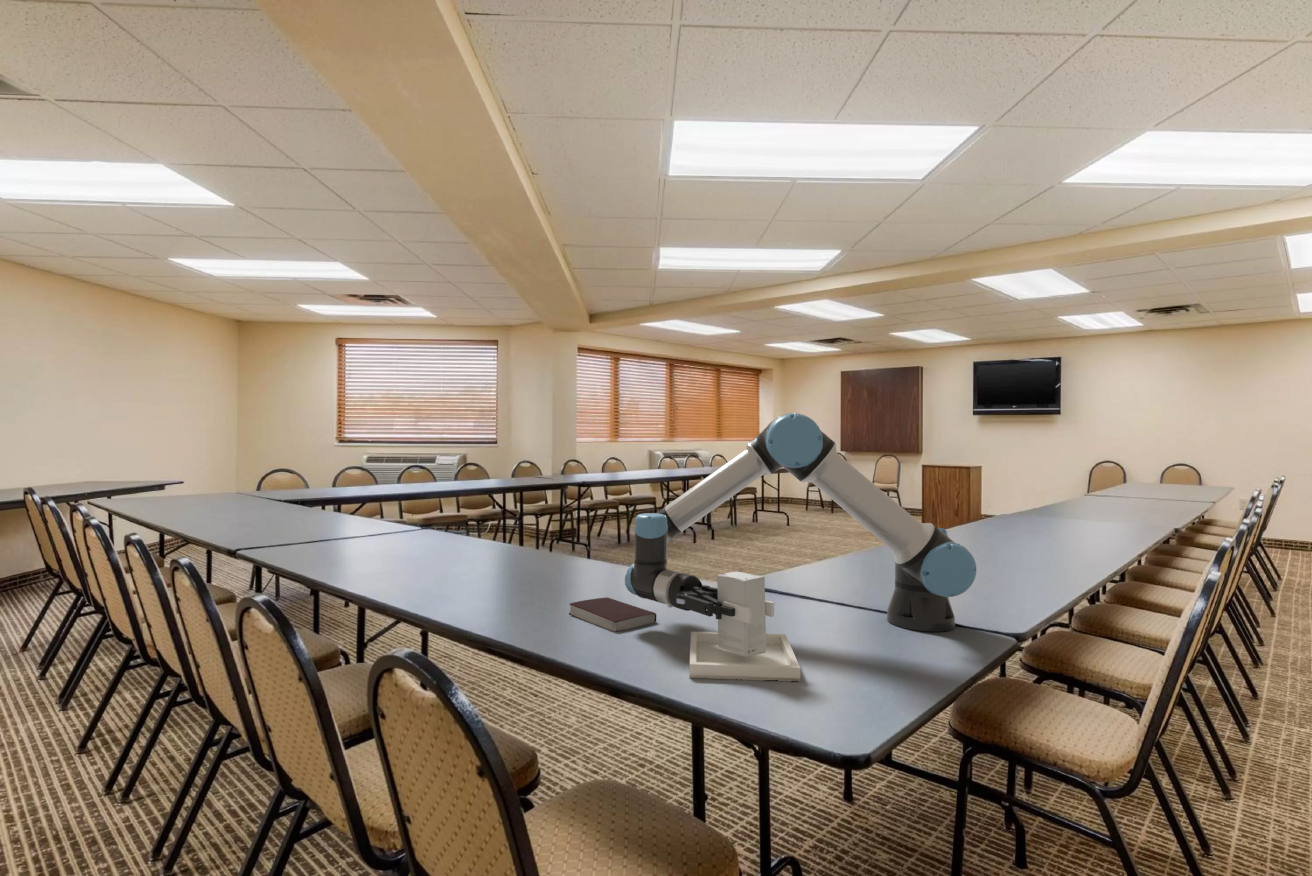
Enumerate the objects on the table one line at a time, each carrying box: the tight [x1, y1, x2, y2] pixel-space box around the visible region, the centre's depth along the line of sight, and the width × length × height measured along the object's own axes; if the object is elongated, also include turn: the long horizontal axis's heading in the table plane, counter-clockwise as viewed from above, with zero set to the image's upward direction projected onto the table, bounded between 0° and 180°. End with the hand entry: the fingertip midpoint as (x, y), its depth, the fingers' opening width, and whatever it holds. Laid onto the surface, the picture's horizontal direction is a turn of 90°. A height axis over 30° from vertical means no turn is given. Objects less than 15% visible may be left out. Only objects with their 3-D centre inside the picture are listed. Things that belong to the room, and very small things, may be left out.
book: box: [568, 597, 657, 633], centre depth 155 cm, size 12×19×3 cm, turn 41°
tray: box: [688, 631, 801, 683], centre depth 125 cm, size 20×20×2 cm
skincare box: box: [716, 571, 767, 657], centre depth 125 cm, size 8×6×15 cm
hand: (761, 612), depth 121 cm, fingers closed on skincare box, 6 cm apart
